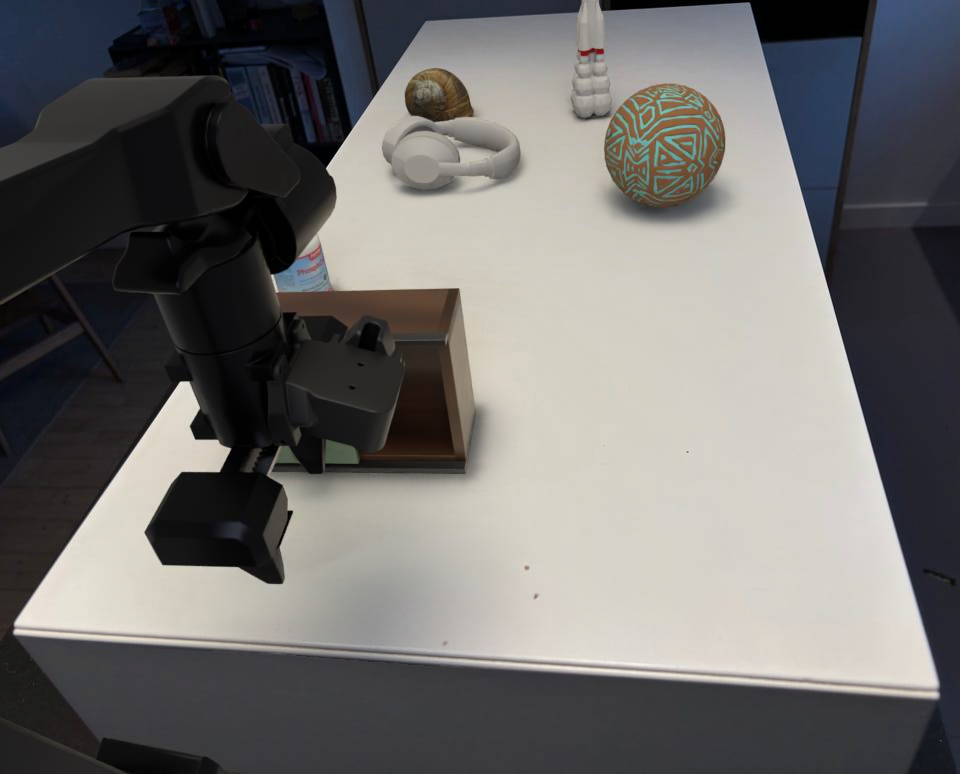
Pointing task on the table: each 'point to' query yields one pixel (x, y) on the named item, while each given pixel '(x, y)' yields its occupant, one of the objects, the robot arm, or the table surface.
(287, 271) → the pill bottle
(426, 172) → the headphones
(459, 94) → the seashell
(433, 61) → the table surface
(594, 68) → the rocket model
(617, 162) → the decorative sphere
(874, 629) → the table surface
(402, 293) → the cupboard
